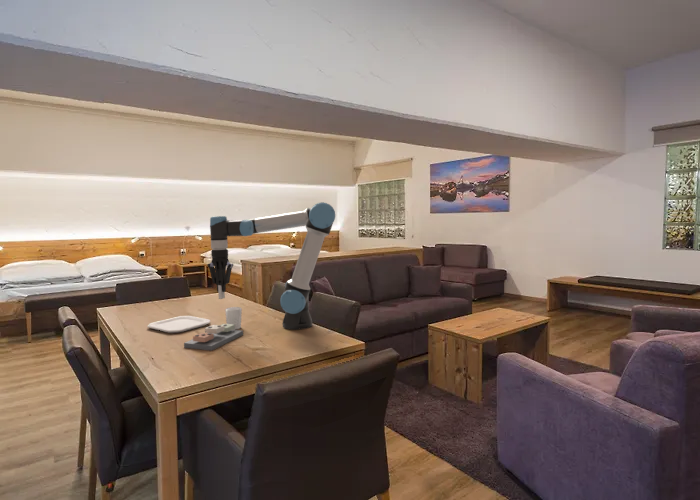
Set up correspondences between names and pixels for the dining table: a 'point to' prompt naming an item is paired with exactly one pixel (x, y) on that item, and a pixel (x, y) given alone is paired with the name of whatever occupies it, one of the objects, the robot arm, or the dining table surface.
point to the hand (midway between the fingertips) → (221, 298)
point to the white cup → (234, 316)
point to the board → (214, 340)
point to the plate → (179, 324)
